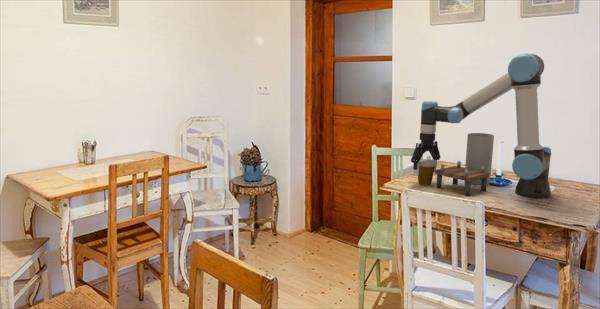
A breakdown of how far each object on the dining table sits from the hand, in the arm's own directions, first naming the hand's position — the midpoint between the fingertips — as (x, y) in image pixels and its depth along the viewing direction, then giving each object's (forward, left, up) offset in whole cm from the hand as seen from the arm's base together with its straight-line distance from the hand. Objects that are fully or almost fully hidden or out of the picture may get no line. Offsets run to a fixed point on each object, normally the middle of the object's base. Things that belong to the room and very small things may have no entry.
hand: (424, 174), depth 239 cm
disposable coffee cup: (0, 0, -5) cm, 5 cm away
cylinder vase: (-14, -24, -5) cm, 29 cm away
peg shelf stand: (-17, -6, -5) cm, 19 cm away
